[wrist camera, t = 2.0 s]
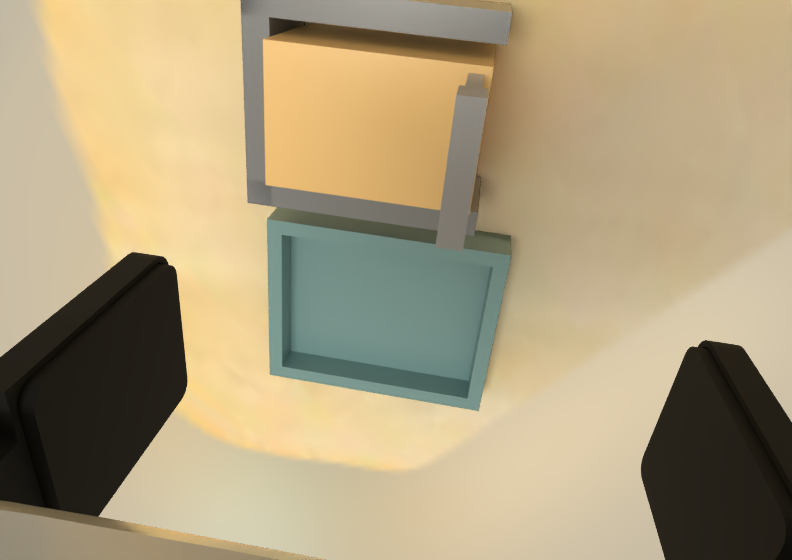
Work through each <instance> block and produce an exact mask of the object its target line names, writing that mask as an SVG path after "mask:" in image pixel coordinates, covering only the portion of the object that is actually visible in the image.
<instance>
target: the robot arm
mask: <svg viewBox="0 0 792 560" xmlns="http://www.w3.org/2000/svg"><path fill="white" fill-rule="evenodd" d="M186 387H187V370H186V361H185V351H184V341H183V331H182V321H181V312H180V302H179V292H178V282H177V274H176V270H175V268H174V267H173V266H170V265H168V262H167V260H166V259H165V258H164V257H162V256H155V255H149V254H142V253H136V252H132V253H130V254H128V255H127V256H126V257H125V258H123V259H122V260H121V261H120V262H118V263H117V264H116V265H115V266H113V267H112V268H111V269H110V270H108V271H107V272H106V273H105V274H103V275H102V276H101V277H100V278H99V279H97V280H96V281H95V282H94V283H92V284H91V285H90V286H88V287H87V288H86V289H85V290H84V291H82V292H81V293H80V294H78V295H77V296H76V297H75V298H74V299H72V300H71V301H70V302H69V303H67V304H66V305H65V306H64V307H62V308H61V309H60V310H59V311H57V312H56V313H55V314H54V315H52V316H51V317H50V318H49V319H48V320H46V321H45V322H44V323H42V324H41V325H40V326H39V327H37V328H36V329H35V330H34V331H32V332H31V333H30V334H29V335H28V336H26V337H25V338H24V339H22V340H21V341H20V342H19V343H18V344H16V345H15V346H14V347H13V348H11V349H10V350H9V351H8V352H6V353H5V354H4V355H3V356H1V357H0V560H325V559H320V558H314V557H309V556H304V555H299V554H294V553H288V552H283V551H278V550H273V549H267V548H262V547H257V546H252V545H246V544H241V543H236V542H230V541H225V540H219V539H214V538H209V537H204V536H198V535H193V534H188V533H182V532H177V531H171V530H166V529H161V528H156V527H150V526H145V525H140V524H134V523H129V522H124V521H118V520H113V519H108V518H102V517H98V516H99V515H100V513H101V512H102V510H103V509H104V508H105V506H106V505H107V504H108V502H109V501H110V499H111V498H112V497H113V495H114V494H115V492H116V491H117V489H118V488H119V486H120V485H121V484H122V482H123V481H124V479H125V478H126V477H127V475H128V474H129V473H130V471H131V470H132V468H133V467H134V465H135V464H136V463H137V461H138V460H139V458H140V457H141V456H142V454H143V453H144V451H145V450H146V449H147V447H148V446H149V444H150V443H151V442H152V440H153V439H154V437H155V436H156V435H157V433H158V432H159V430H160V429H161V428H162V426H163V425H164V423H165V422H166V421H167V419H168V418H169V416H170V415H171V413H172V412H173V411H174V409H175V408H176V406H177V405H178V404H179V402H180V401H181V399H182V398H183V396H184V394H185V391H186ZM641 476H642V481H643V484H644V487H645V491H646V494H647V498H648V501H649V504H650V508H651V512H652V515H653V519H654V522H655V525H656V529H657V532H658V536H659V539H660V543H661V546H662V550H663V553H664V557H665V560H792V422H791V421H790V419H789V417H788V416H787V414H786V413H785V411H784V410H783V408H782V407H781V405H780V404H779V402H778V401H777V399H776V397H775V396H774V394H773V393H772V391H771V390H770V388H769V387H768V385H767V384H766V382H765V381H764V379H763V377H762V376H761V374H760V373H759V371H758V370H757V368H756V367H755V365H754V364H753V362H752V361H751V359H750V358H749V356H748V354H747V353H746V351H745V350H744V349H743V348H742V347H741V346H739V345H733V344H727V343H720V342H713V341H707V340H705V341H702V342H701V343H700V344H699V346H698V347H690V348H689V349H688V350H687V352H686V354H685V356H684V358H683V361H682V364H681V366H680V368H679V371H678V373H677V376H676V378H675V380H674V383H673V385H672V388H671V390H670V393H669V395H668V397H667V400H666V402H665V405H664V407H663V410H662V412H661V414H660V417H659V419H658V422H657V424H656V427H655V429H654V432H653V434H652V436H651V439H650V441H649V444H648V446H647V448H646V451H645V453H644V456H643V459H642V464H641Z"/></svg>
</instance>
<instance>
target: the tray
mask: <svg viewBox="0 0 792 560" xmlns="http://www.w3.org/2000/svg"><path fill="white" fill-rule="evenodd" d="M436 238H437V231H436V230H429V229H422V228H416V227H409V226H402V225H395V224H388V223H382V222H375V221H368V220H361V219H354V218H348V217H341V216H334V215H327V214H321V213H314V212H307V211H300V210H293V209H287V208H280V207H277V209H276V210H275V211H274V212H273V213H272V214H271V215H270V216H269V217H268V219H267V243H268V299H269V355H270V375H275V376H281V377H286V378H292V379H298V380H304V381H309V382H315V383H321V384H327V385H332V386H338V387H344V388H350V389H355V390H361V391H367V392H373V393H378V394H384V395H390V396H396V397H401V398H407V399H413V400H419V401H424V402H430V403H436V404H442V405H447V406H453V407H459V408H465V409H470V410H476V411H479V407H480V402H481V397H482V392H483V388H484V383H485V378H486V373H487V369H488V364H489V359H490V354H491V350H492V345H493V340H494V335H495V331H496V326H497V321H498V317H499V312H500V307H501V302H502V298H503V293H504V288H505V283H506V279H507V274H508V269H509V264H510V260H511V236H508V235H501V234H494V233H487V232H481V231H475V233H474V236H470V235H465V241H464V247H463V251H456V250H450V249H443V248H436V247H435V245H436Z"/></svg>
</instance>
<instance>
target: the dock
mask: <svg viewBox="0 0 792 560" xmlns="http://www.w3.org/2000/svg"><path fill="white" fill-rule="evenodd" d="M512 13H513V12H512V8H511V4H507V3H498V2H489V1H480V0H241V24H242V53H243V81H244V110H245V138H246V167H247V196H248V203H253V204H260V205H266V206H273V207H280V208H287V209H293V210H300V211H307V212H314V213H321V214H327V215H334V216H341V217H348V218H354V219H361V220H368V221H375V222H382V223H388V224H395V225H402V226H409V227H416V228H422V229H429V230H436V231H438V223H439V216H440V210H435V209H428V208H421V207H414V206H407V205H400V204H393V203H386V202H380V201H373V200H366V199H359V198H352V197H345V196H338V195H331V194H324V193H317V192H310V191H303V190H296V189H290V188H283V187H276V186H269V185H266V181H265V127H264V74H263V39H265V38H268V37H271V36H274V35H277V34H280V33H283V32H286V31H289V30H292V29H295V28H297V27H300V26H303V25H304V21H306V22H314V23H323V24H331V25H340V26H348V27H357V28H365V29H374V30H382V31H390V32H399V33H407V34H416V35H424V36H433V37H441V38H450V39H458V40H467V41H475V42H484V43H492V44H501V45H507V42H508V36H509V30H510V24H511V19H512ZM480 182H481V177H476V178H475V184H474V190H473V196H472V202H471V208H470V214H469V216H468V222H467V228H466V234H465V235H470V236H474V233H475V227H476V221H477V215H478V206H479V194H480Z"/></svg>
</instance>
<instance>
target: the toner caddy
mask: <svg viewBox="0 0 792 560" xmlns="http://www.w3.org/2000/svg"><path fill="white" fill-rule="evenodd" d="M494 53H495V44H489V43H481V42H472V41H464V40H455V39H447V38H438V37H430V36H421V35H413V34H405V33H396V32H388V31H379V30H371V29H362V28H354V27H345V26H337V25H328V24H320V23H309V24H306V25H303V26H300V27H297V28H295V29H292V30H289V31H286V32H283V33H280V34H277V35H274V36H271V37H268V38H265V39H263V74H264V127H265V181H266V185H269V186H276V187H283V188H290V189H296V190H303V191H310V192H317V193H324V194H331V195H338V196H345V197H352V198H359V199H366V200H373V201H380V202H386V203H393V204H400V205H407V206H414V207H421V208H428V209H435V210H440V216H439V223H438V231H437V238H436V245H435V247H436V248H443V249H450V250H456V251H463V247H464V241H465V234H466V228H467V222H468V216H469V214H470V208H471V202H472V196H473V190H474V184H475V178H476V172H477V166H478V160H479V154H480V148H481V142H482V136H483V130H484V123H485V117H486V111H487V105H488V99H489V93H490V87H491V81H492V75H493V69H494Z"/></svg>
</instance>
